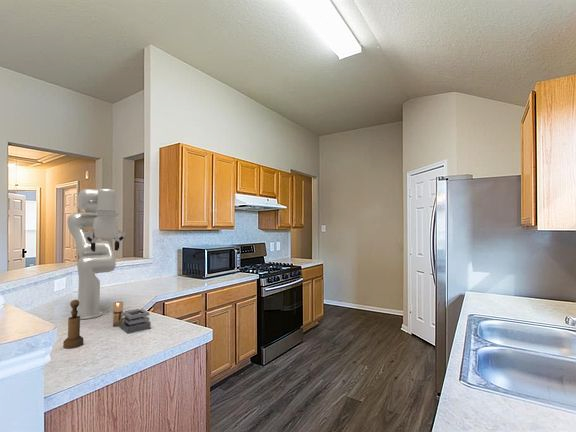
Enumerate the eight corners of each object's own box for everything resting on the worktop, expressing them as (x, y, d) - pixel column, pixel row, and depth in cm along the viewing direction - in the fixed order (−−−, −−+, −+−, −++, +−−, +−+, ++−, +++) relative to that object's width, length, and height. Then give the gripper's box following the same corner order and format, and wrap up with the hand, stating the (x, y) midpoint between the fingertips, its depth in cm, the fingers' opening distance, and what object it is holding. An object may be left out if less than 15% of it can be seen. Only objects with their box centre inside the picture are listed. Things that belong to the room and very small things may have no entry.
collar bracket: (119, 327, 145) (119, 311, 145) (141, 323, 152) (141, 307, 152) (127, 333, 137) (128, 316, 137) (150, 328, 144) (150, 312, 144)
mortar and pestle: (60, 349, 119) (61, 302, 120) (67, 343, 125) (68, 298, 126) (80, 347, 121) (81, 301, 121) (85, 341, 127) (87, 297, 128)
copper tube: (111, 325, 148) (112, 302, 148) (120, 323, 151) (121, 300, 151) (114, 327, 145) (115, 303, 145) (123, 325, 148) (124, 302, 148)
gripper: (123, 215, 156) (122, 249, 155) (82, 214, 144) (81, 251, 143) (128, 215, 151) (127, 250, 150) (86, 214, 139) (85, 252, 138)
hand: (105, 250), depth 147 cm, fingers open, 9 cm apart
